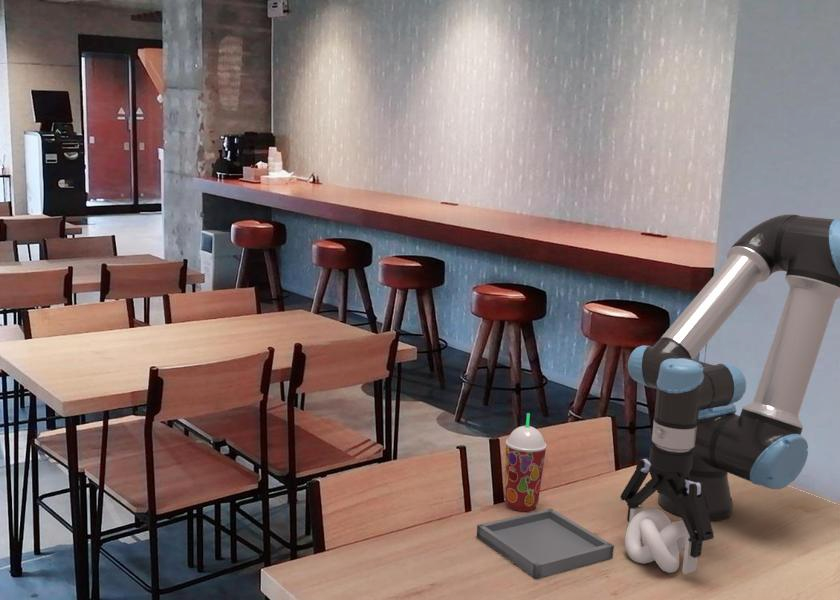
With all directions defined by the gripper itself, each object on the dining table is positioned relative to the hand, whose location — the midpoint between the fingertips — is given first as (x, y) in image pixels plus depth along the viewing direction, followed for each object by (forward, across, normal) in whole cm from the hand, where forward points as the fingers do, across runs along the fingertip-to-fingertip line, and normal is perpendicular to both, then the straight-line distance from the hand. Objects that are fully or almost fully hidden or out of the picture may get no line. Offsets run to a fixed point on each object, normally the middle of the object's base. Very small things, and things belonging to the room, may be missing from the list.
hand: (660, 555), depth 166 cm
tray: (+1, -14, -16) cm, 21 cm away
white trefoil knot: (+2, 0, 0) cm, 2 cm away
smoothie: (+1, -31, -8) cm, 32 cm away
